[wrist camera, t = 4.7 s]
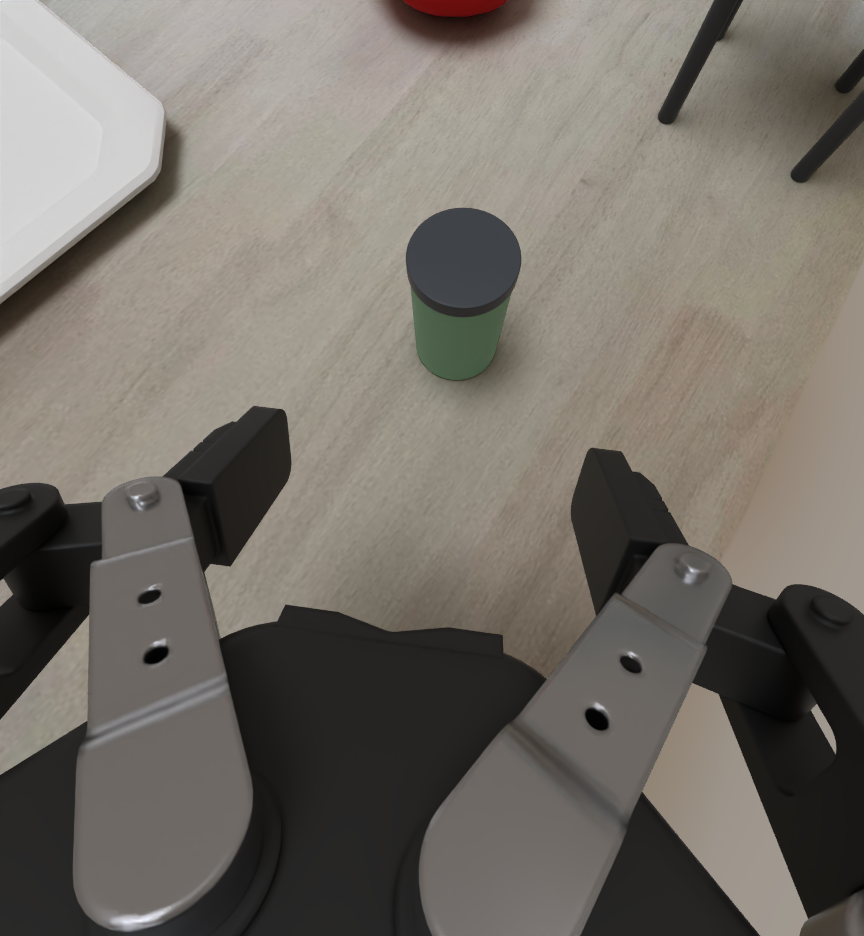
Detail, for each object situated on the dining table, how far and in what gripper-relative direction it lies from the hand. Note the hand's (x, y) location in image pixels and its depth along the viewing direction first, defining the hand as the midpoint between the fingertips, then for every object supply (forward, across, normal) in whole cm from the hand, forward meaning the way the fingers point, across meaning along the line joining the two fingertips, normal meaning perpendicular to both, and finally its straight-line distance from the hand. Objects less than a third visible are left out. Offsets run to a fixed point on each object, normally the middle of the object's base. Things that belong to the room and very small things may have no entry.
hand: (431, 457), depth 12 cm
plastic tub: (+18, 0, +2) cm, 18 cm away
